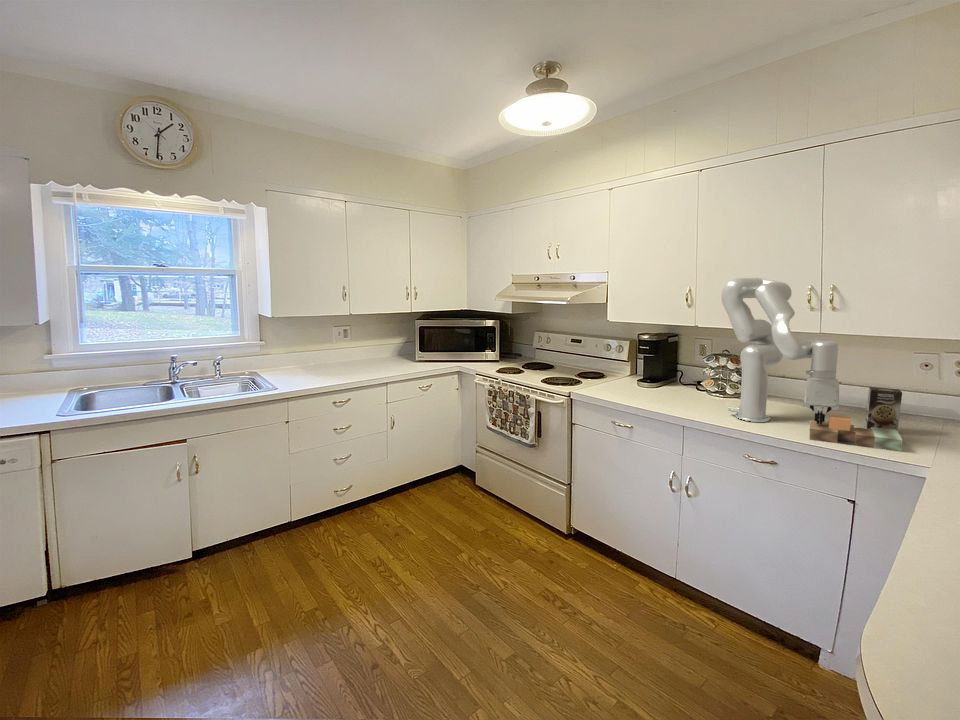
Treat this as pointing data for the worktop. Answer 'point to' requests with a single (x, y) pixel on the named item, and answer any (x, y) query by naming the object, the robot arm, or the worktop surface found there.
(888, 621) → the worktop surface
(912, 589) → the worktop surface
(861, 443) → the board
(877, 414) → the coffee box
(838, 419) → the orange block
